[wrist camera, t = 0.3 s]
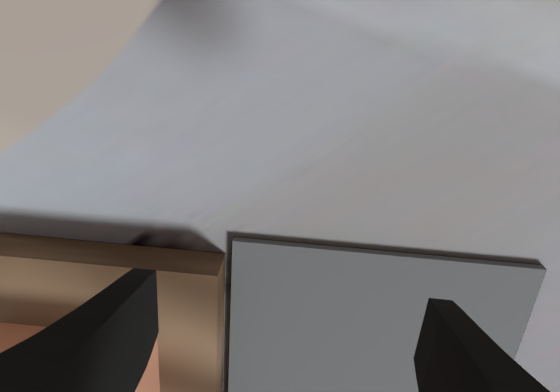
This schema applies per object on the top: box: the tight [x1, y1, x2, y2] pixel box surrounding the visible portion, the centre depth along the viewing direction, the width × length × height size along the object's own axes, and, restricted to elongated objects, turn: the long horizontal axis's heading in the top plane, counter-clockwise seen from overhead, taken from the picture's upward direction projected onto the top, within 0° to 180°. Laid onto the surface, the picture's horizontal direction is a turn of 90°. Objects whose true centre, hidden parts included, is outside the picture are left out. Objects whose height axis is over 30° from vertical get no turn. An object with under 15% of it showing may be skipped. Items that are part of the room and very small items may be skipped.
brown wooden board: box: [0, 233, 225, 392], centre depth 25 cm, size 14×12×2 cm
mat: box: [228, 237, 546, 392], centre depth 26 cm, size 16×15×1 cm
